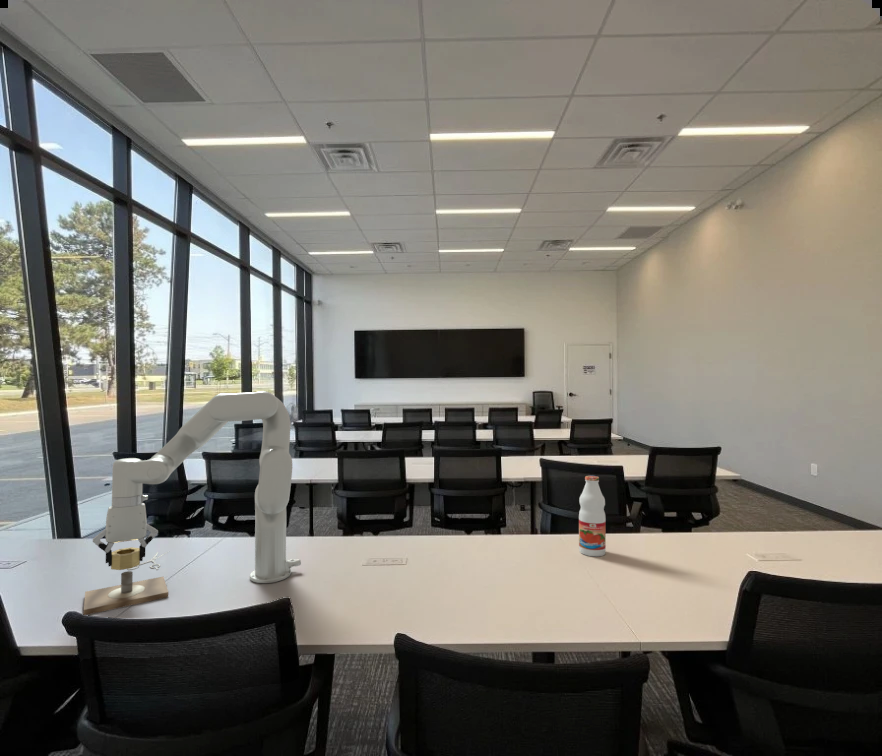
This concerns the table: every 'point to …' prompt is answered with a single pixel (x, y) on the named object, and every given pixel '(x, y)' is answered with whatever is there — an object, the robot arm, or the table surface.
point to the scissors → (151, 561)
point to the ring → (125, 558)
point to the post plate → (125, 594)
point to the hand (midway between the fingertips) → (125, 561)
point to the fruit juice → (592, 519)
